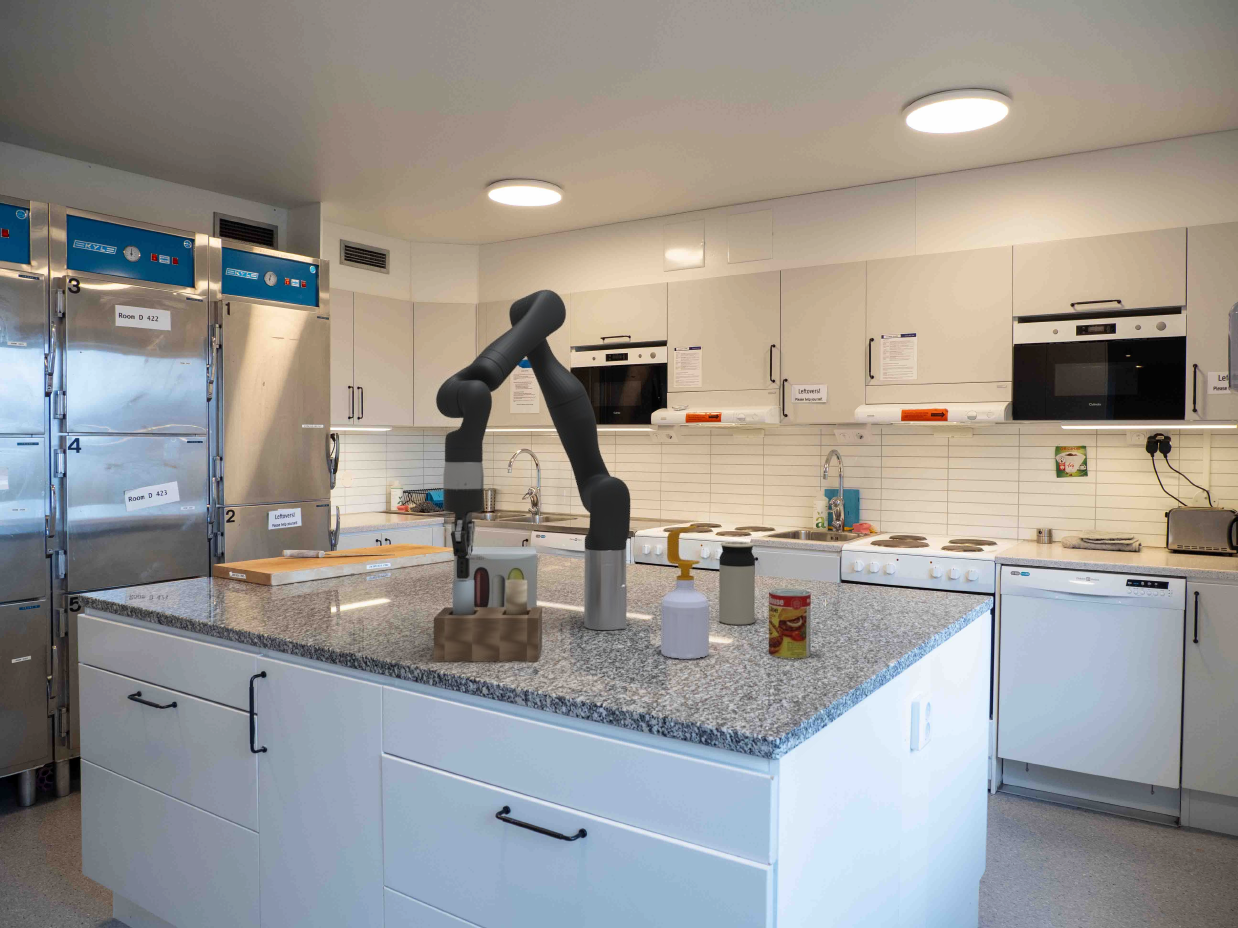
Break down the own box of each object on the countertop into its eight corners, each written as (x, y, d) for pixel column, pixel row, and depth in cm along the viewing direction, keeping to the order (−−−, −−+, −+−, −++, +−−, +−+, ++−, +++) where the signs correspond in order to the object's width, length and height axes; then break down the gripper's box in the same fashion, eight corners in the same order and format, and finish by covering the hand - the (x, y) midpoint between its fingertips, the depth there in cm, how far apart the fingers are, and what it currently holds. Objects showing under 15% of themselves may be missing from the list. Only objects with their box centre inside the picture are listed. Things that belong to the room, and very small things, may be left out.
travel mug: (738, 627, 185) (739, 545, 185) (711, 621, 191) (712, 542, 191) (761, 622, 191) (762, 543, 190) (734, 617, 196) (735, 540, 196)
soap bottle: (695, 662, 153) (696, 528, 153) (652, 655, 158) (652, 525, 158) (716, 652, 161) (717, 525, 161) (674, 646, 166) (675, 522, 166)
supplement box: (451, 642, 169) (451, 552, 169) (456, 628, 183) (456, 545, 182) (537, 640, 171) (537, 552, 171) (536, 627, 185) (536, 545, 184)
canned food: (765, 649, 164) (766, 588, 164) (806, 649, 164) (806, 588, 164) (771, 658, 156) (772, 594, 156) (814, 659, 156) (814, 595, 156)
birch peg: (527, 618, 161) (528, 579, 161) (526, 622, 157) (526, 582, 157) (506, 618, 161) (507, 579, 161) (504, 622, 157) (504, 582, 157)
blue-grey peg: (475, 618, 161) (475, 579, 160) (472, 622, 157) (472, 582, 156) (454, 618, 160) (454, 579, 160) (450, 622, 156) (451, 582, 156)
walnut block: (542, 647, 164) (542, 607, 164) (537, 661, 153) (538, 617, 153) (444, 647, 164) (444, 607, 164) (433, 661, 153) (433, 617, 153)
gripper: (478, 487, 152) (477, 583, 152) (488, 485, 165) (487, 573, 165) (436, 487, 152) (436, 583, 152) (449, 485, 165) (449, 573, 165)
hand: (463, 577), depth 159 cm, fingers closed
